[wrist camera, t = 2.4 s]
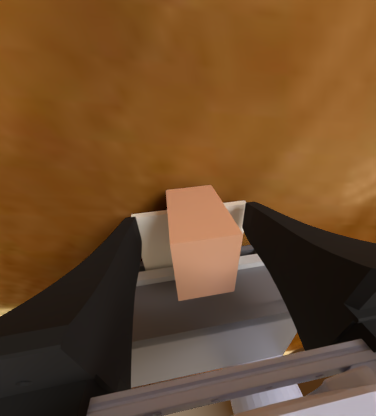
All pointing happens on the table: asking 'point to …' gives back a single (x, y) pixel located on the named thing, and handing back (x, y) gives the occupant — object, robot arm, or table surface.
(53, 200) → the table surface
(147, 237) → the peach block on base
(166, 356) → the dispenser
